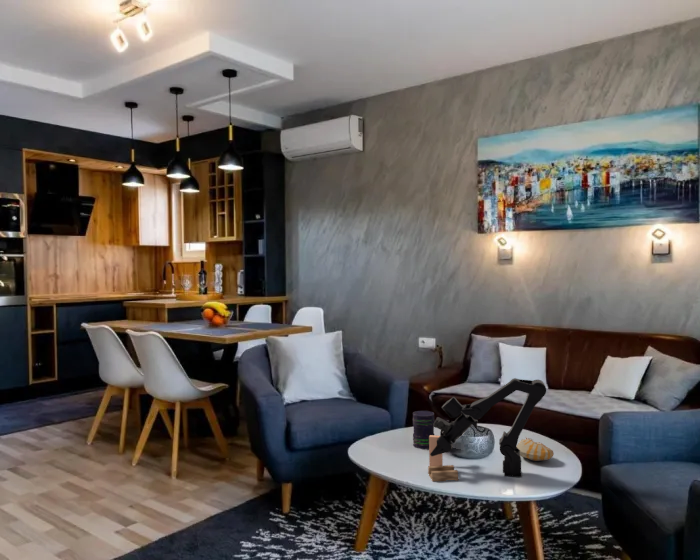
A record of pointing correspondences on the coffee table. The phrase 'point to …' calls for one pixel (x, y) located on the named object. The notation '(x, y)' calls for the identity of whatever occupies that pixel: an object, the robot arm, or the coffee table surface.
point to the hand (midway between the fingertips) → (432, 451)
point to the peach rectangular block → (435, 459)
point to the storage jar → (422, 428)
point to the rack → (442, 473)
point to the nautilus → (534, 450)
